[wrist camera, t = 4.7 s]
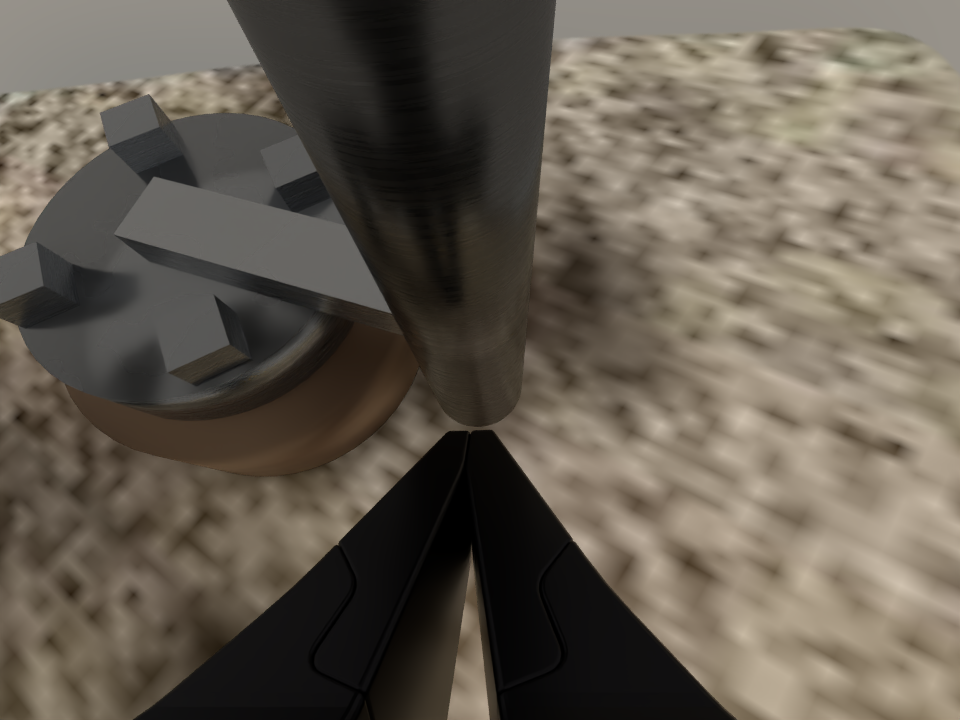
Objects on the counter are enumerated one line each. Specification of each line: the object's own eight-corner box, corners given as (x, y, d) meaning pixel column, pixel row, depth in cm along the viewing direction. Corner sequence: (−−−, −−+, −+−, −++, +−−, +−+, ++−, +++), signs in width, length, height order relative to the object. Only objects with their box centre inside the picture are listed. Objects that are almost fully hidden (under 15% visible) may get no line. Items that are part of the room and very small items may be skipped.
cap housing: (240, 545, 16) (156, 548, 12) (103, 327, 19) (3, 276, 15) (551, 283, 18) (563, 219, 15) (385, 133, 22) (360, 50, 18)
